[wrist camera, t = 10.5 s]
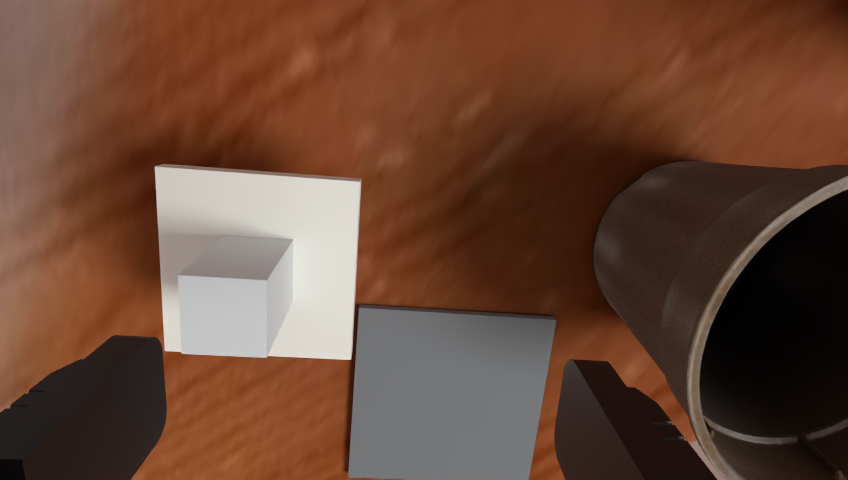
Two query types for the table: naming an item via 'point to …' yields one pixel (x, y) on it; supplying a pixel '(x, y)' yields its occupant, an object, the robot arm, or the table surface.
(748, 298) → the plant pot
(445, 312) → the mat
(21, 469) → the robot arm
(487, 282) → the table surface
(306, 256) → the lid
